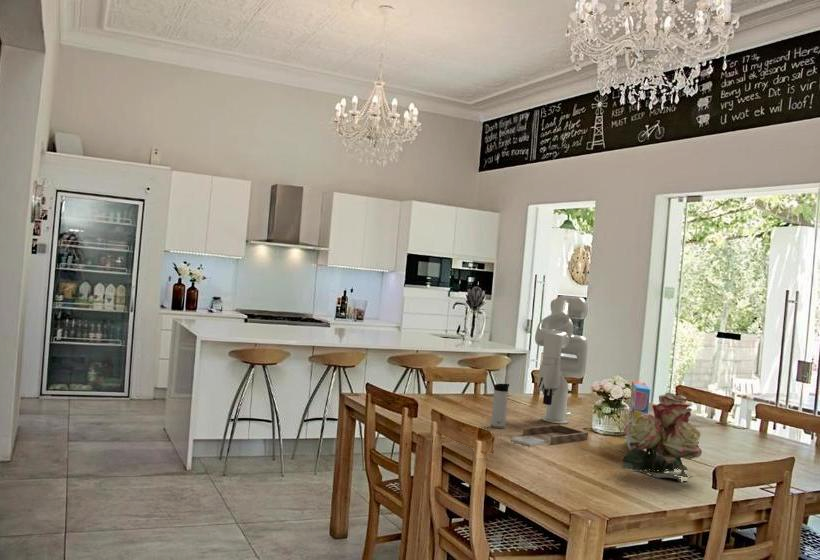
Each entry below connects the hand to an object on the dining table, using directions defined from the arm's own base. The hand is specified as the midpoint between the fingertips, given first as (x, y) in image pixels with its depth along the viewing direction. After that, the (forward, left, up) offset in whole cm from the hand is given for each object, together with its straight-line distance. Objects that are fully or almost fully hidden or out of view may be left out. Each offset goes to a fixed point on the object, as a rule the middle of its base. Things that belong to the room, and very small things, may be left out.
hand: (547, 404), depth 316 cm
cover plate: (+11, +1, -16) cm, 20 cm away
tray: (-6, 0, -15) cm, 17 cm away
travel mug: (+2, -25, -16) cm, 29 cm away
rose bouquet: (-6, +52, -16) cm, 55 cm away
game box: (-29, +25, -16) cm, 42 cm away
